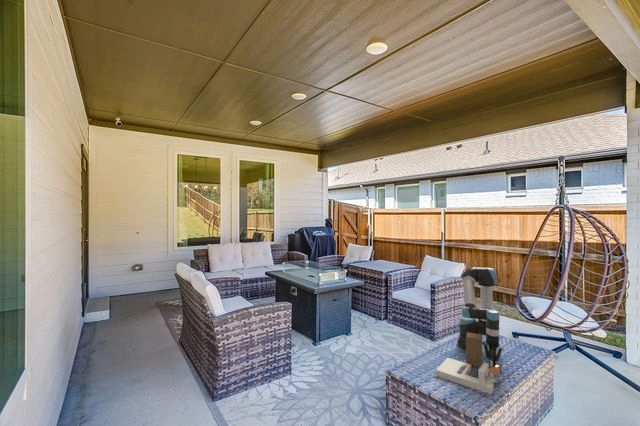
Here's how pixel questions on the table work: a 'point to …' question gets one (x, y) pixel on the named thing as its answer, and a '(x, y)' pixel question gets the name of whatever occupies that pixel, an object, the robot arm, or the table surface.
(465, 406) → the table surface
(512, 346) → the table surface
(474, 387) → the stand
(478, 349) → the wooden block
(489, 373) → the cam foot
